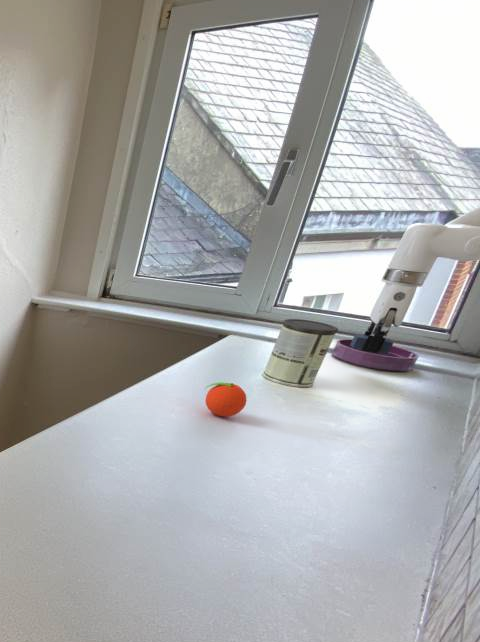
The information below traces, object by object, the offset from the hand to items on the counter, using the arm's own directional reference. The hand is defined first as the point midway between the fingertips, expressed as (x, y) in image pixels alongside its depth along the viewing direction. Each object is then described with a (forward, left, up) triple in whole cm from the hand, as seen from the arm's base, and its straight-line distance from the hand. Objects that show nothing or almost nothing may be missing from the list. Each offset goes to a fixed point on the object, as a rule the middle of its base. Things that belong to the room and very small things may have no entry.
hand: (368, 348), depth 141 cm
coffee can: (+16, +22, -7) cm, 28 cm away
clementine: (+29, +60, -7) cm, 67 cm away
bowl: (-4, -14, -6) cm, 16 cm away
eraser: (0, 0, 0) cm, 0 cm away
